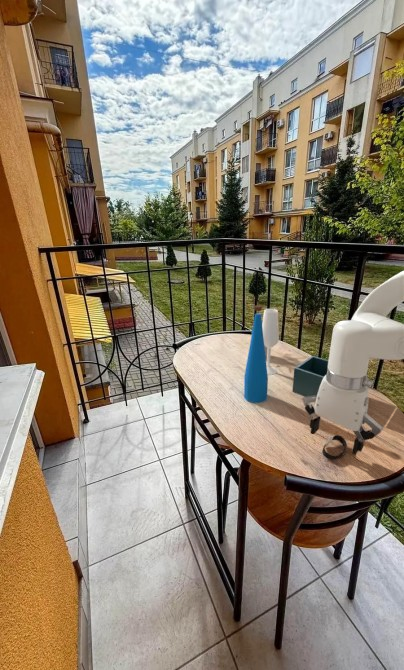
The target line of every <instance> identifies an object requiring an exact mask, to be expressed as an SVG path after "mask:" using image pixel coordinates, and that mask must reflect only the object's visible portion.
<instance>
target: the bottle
mask: <svg viewBox="0 0 404 670" xmlns="http://www.w3.org/2000/svg"><path fill="white" fill-rule="evenodd" d="M253 308H254V310H255V311H256V312H262V310H263V305H258V304H257V305H254V306H253ZM262 322H263V318H262V314H261V313H255V314H254V319H253V325H252V327H253V330H251V332H252V333H251V335H250V336H251V337H250V344H249V349H248V354H247V360H246V365H245V372H244V387H243V388H244V389H243V391H244V392H243V398H244V399H245V400H246V401H247V402H249V403H252V404H262V403H264V402H266V401H267V399H268V385H269V375H267V357H266V356H265V347H264V338H263V329H262Z"/></svg>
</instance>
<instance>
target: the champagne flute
mask: <svg viewBox="0 0 404 670" xmlns="http://www.w3.org/2000/svg"><path fill="white" fill-rule="evenodd" d="M262 322H263V323H262V329H263V338H264V345H265V346H266V347H267V348H268V349H267V357H266V365H267V375H268V376H272V375H275V374H277V373H278V371H277V368H274V367H273V366H271V353H272V348H273V347H275V346H276V345H277V344H279V341H280V330H279V325H278V324H279V310H278V309H276V308H265V309H264V310H263V316H262Z"/></svg>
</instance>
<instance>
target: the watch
mask: <svg viewBox="0 0 404 670" xmlns="http://www.w3.org/2000/svg"><path fill="white" fill-rule="evenodd" d="M332 441H338V442H339V443H341V444H342V447H343V450H342V452H340V453H339V454H337V455H333V454H330V453H329V452H327V451H326V448H327V447H328V446H329V445H330V444H331V442H332ZM322 447H323V448H322V451H321V452H322V455H323V456H324V458H326V459H327V460H331V461H335V460H338V459H341V458H342V457H343V456H344V455H345V453H346V450H347V448H348V443H347V440H346V439H345V438H344V437H343V436H341V435H338V434H337V435H333V436H332V435H330V436H329V437H328V438H327V440H325V442H324V444H323V445H322Z"/></svg>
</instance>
